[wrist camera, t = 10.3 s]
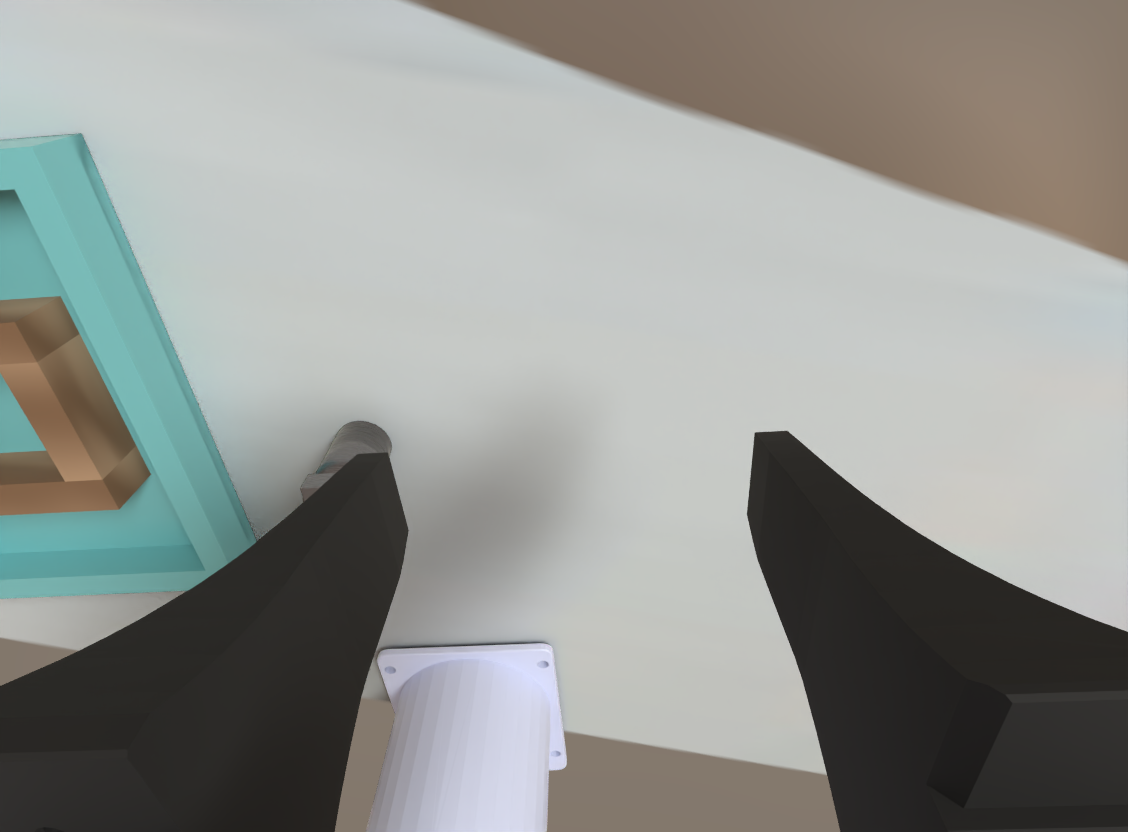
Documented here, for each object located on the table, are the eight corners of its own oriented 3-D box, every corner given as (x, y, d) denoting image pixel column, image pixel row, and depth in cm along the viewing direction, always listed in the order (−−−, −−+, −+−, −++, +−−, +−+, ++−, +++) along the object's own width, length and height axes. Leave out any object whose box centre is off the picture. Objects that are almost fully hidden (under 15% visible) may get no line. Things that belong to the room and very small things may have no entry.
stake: (398, 471, 25) (368, 549, 21) (346, 473, 25) (308, 552, 21) (383, 412, 23) (348, 486, 20) (328, 415, 23) (283, 489, 20)
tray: (261, 551, 27) (240, 588, 25) (-18, 564, 28) (-56, 601, 26) (81, 133, 19) (31, 146, 17) (-315, 165, 19) (-401, 180, 17)
